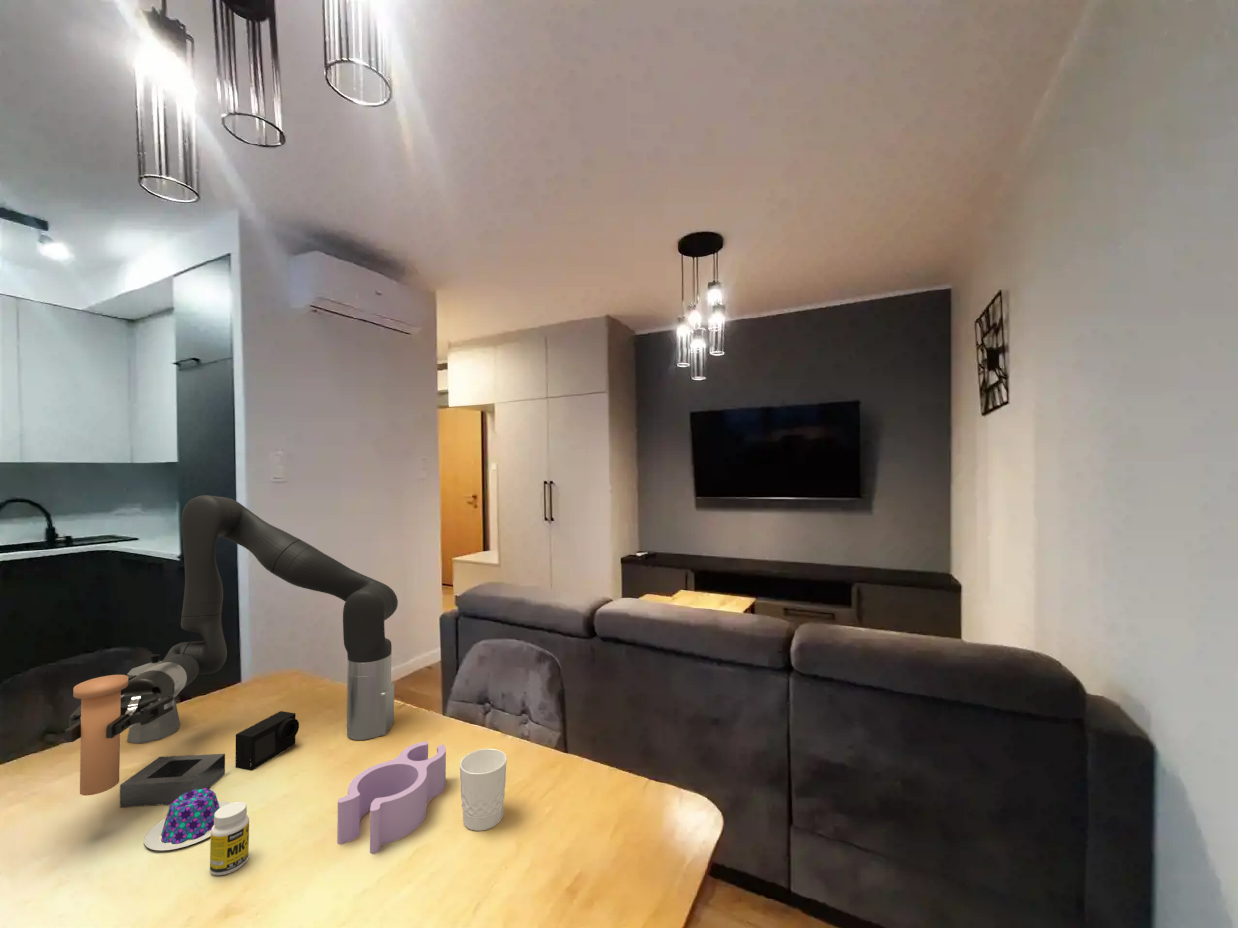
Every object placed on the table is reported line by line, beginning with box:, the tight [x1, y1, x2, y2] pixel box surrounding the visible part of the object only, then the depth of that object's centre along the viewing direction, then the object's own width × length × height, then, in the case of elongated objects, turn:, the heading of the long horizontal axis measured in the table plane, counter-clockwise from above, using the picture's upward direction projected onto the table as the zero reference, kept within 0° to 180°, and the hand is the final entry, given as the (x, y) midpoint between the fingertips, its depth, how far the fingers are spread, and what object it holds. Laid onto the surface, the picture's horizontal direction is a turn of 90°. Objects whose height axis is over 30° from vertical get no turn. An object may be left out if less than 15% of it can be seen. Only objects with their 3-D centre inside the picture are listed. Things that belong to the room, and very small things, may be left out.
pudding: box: [143, 788, 230, 851], centre depth 87 cm, size 12×12×5 cm
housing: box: [119, 753, 226, 808], centre depth 97 cm, size 12×9×4 cm
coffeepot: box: [126, 653, 181, 745], centre depth 117 cm, size 15×9×18 cm, turn 9°
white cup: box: [459, 747, 508, 832], centre depth 90 cm, size 8×8×10 cm
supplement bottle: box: [209, 801, 250, 876], centre depth 79 cm, size 5×5×8 cm
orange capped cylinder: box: [72, 674, 128, 796], centre depth 85 cm, size 6×6×17 cm
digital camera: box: [235, 710, 300, 771], centre depth 109 cm, size 10×5×7 cm, turn 165°
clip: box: [336, 741, 447, 855], centre depth 92 cm, size 20×12×7 cm, turn 162°
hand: (89, 734), depth 83 cm, fingers closed on orange capped cylinder, 4 cm apart
